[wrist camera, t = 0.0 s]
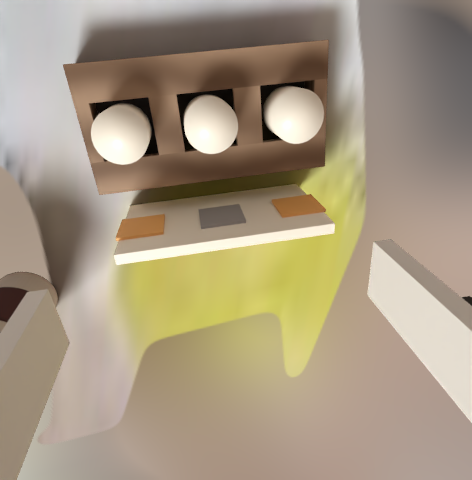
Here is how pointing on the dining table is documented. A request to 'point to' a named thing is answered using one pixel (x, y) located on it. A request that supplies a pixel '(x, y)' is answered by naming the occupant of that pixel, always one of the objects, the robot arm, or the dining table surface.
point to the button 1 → (121, 133)
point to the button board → (199, 80)
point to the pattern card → (219, 223)
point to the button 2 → (210, 124)
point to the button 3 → (293, 114)
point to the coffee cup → (20, 292)
